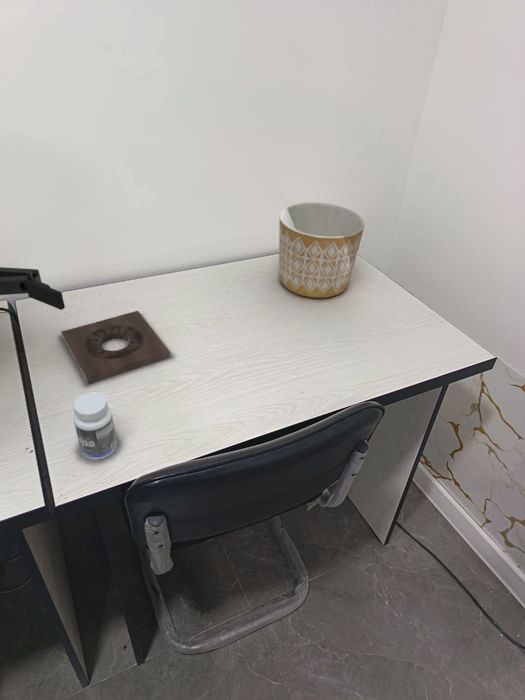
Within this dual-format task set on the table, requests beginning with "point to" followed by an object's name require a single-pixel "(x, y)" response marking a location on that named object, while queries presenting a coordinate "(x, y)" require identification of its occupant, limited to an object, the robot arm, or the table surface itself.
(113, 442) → the pill bottle
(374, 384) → the table surface
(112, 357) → the socket plate
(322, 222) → the planter
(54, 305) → the robot arm
